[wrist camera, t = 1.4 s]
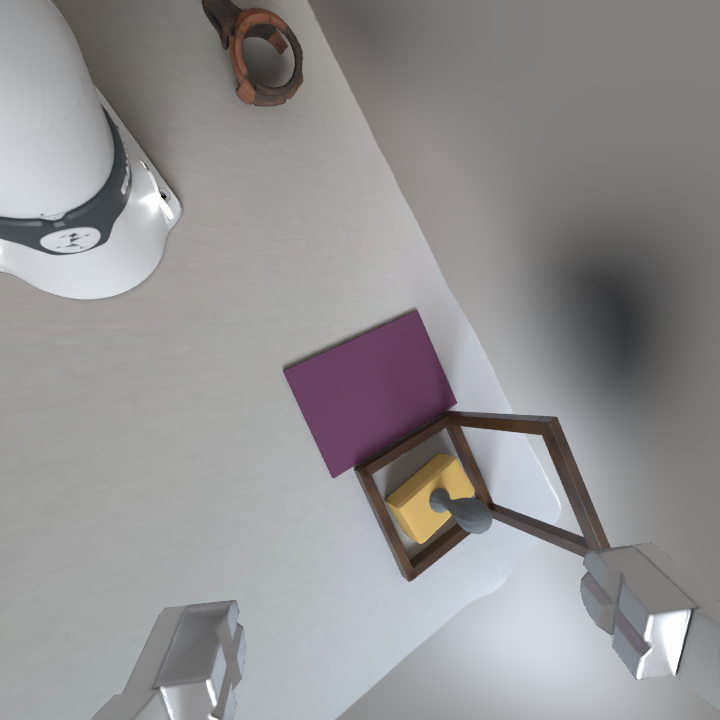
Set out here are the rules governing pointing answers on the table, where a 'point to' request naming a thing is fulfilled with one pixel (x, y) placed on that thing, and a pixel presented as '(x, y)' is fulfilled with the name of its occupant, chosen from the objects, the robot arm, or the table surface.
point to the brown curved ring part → (254, 25)
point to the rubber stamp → (438, 500)
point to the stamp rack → (451, 538)
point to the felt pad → (370, 391)
